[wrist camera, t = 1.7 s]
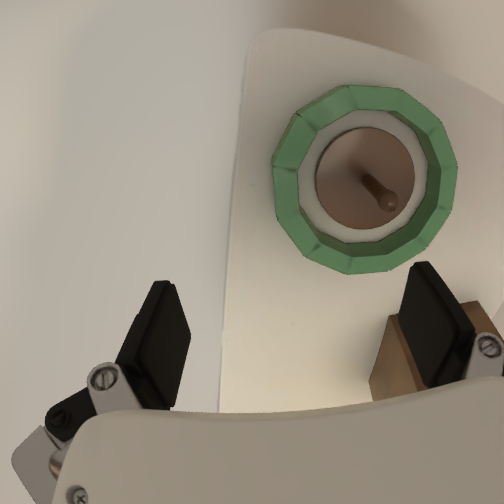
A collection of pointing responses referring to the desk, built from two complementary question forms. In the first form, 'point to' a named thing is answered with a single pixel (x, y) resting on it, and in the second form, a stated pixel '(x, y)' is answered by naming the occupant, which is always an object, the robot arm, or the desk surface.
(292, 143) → the ring
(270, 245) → the desk surface
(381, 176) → the peg stand
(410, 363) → the plinth
